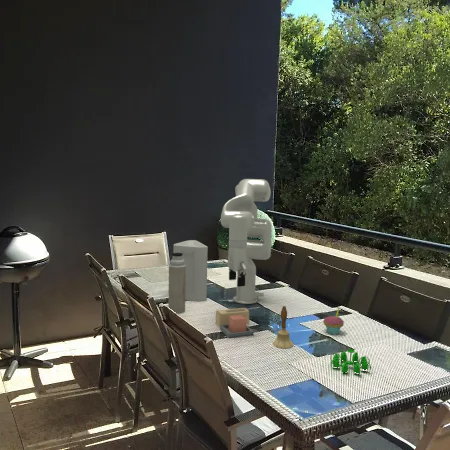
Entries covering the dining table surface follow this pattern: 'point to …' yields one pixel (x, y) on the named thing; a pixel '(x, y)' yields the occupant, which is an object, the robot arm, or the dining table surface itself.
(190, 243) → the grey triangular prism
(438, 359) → the dining table surface
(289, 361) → the dining table surface
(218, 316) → the tan slotted block
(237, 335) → the tray
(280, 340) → the hand bell
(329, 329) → the cupcake
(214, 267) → the dining table surface
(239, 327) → the stub
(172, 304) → the thermos bottle
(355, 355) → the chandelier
